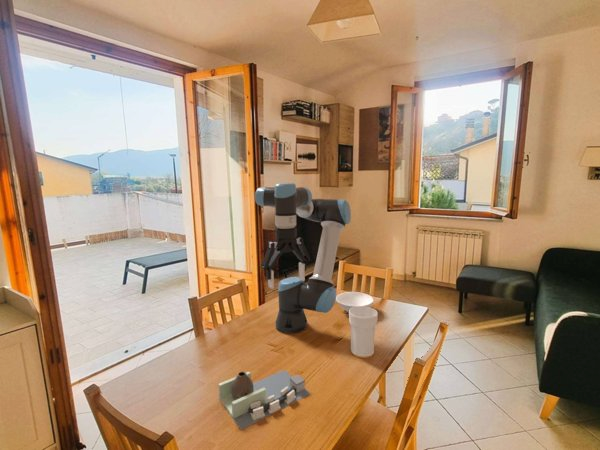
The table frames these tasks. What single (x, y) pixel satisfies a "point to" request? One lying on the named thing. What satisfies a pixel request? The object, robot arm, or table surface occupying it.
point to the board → (272, 387)
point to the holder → (241, 404)
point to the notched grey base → (281, 400)
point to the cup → (362, 330)
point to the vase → (241, 386)
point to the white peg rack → (274, 406)
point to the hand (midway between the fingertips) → (286, 283)
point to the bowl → (353, 300)
